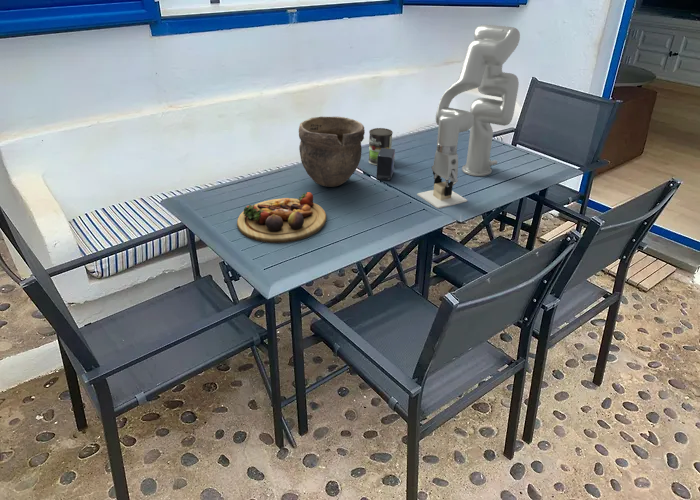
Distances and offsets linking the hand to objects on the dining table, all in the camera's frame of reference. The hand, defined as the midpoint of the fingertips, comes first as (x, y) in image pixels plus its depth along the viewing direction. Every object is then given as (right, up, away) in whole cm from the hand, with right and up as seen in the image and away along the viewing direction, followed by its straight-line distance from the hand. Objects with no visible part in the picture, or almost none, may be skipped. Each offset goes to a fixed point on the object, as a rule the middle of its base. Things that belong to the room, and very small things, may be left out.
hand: (442, 191), depth 213 cm
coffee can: (-23, +17, +35) cm, 45 cm away
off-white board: (0, -2, +1) cm, 3 cm away
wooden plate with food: (-61, -13, -16) cm, 64 cm away
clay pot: (-44, +5, +14) cm, 46 cm away
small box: (-21, +9, +21) cm, 31 cm away
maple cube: (0, -2, +1) cm, 2 cm away
